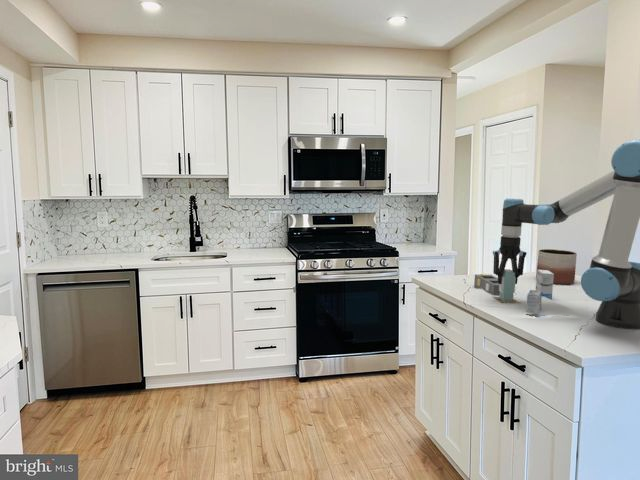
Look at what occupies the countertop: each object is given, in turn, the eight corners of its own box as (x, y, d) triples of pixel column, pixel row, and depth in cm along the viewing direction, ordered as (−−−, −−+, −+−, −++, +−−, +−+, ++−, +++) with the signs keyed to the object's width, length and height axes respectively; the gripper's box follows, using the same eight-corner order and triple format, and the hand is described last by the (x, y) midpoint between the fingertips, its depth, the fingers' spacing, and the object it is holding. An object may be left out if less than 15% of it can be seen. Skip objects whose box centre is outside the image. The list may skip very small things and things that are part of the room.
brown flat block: (520, 306, 181) (521, 303, 181) (501, 306, 181) (501, 303, 180) (509, 300, 191) (509, 296, 191) (491, 300, 190) (491, 296, 190)
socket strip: (511, 298, 194) (512, 284, 193) (492, 298, 194) (493, 284, 193) (490, 286, 216) (491, 273, 215) (473, 286, 215) (474, 273, 214)
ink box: (552, 300, 193) (554, 273, 191) (539, 299, 194) (542, 273, 192) (546, 295, 201) (548, 269, 199) (534, 294, 202) (536, 269, 200)
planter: (539, 276, 243) (541, 248, 241) (576, 281, 233) (579, 251, 231) (532, 281, 229) (535, 251, 227) (571, 287, 219) (574, 255, 216)
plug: (512, 301, 184) (515, 271, 182) (503, 301, 183) (505, 270, 182) (508, 298, 188) (510, 269, 186) (499, 298, 187) (501, 269, 186)
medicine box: (538, 317, 166) (540, 295, 165) (525, 315, 169) (527, 293, 168) (540, 312, 173) (542, 291, 172) (528, 310, 175) (530, 289, 174)
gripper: (526, 235, 186) (522, 289, 189) (486, 234, 185) (482, 289, 188) (535, 237, 179) (531, 294, 182) (494, 237, 178) (490, 293, 181)
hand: (506, 291), depth 185 cm, fingers closed on plug, 4 cm apart
